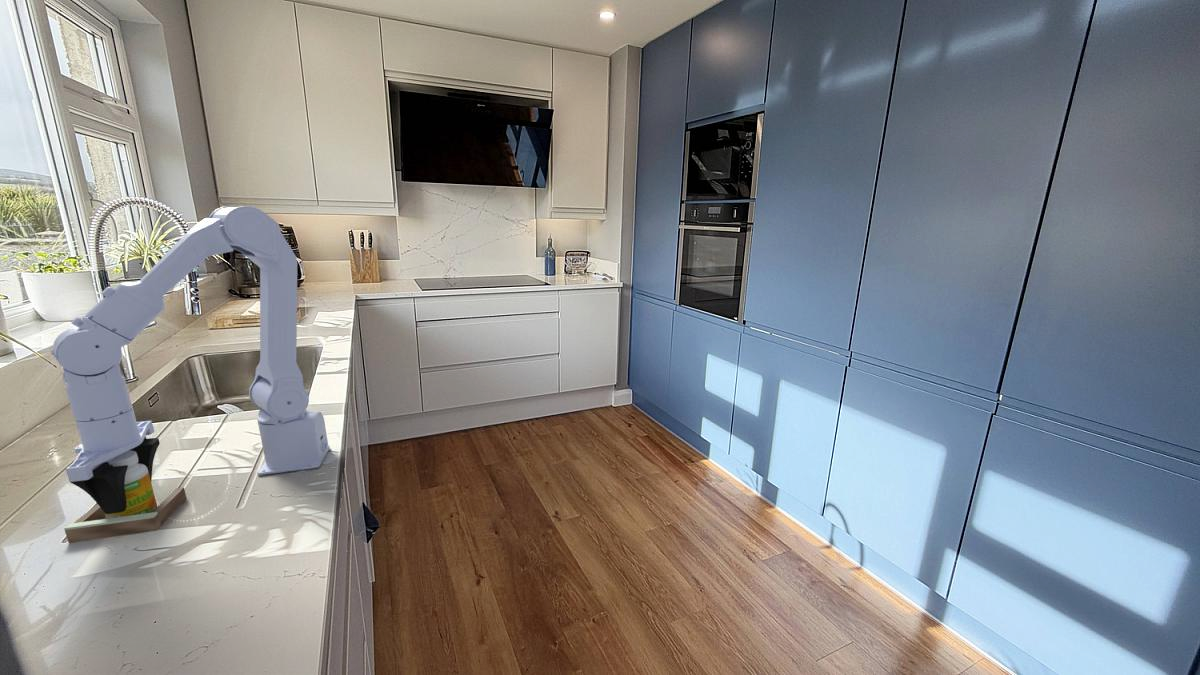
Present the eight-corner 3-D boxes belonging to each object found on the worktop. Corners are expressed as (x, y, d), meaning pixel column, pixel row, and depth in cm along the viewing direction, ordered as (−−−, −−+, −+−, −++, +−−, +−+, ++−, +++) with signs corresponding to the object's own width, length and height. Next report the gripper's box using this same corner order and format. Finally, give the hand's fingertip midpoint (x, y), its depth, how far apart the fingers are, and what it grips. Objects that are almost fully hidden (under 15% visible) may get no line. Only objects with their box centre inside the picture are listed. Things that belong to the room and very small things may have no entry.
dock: (186, 498, 76) (183, 485, 76) (157, 530, 69) (153, 515, 68) (108, 509, 74) (104, 495, 73) (68, 542, 66) (64, 528, 66)
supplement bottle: (127, 530, 68) (110, 467, 66) (97, 526, 69) (79, 464, 67) (167, 508, 74) (152, 449, 71) (139, 504, 75) (123, 446, 72)
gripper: (104, 397, 73) (127, 478, 77) (24, 440, 60) (56, 535, 63) (161, 392, 75) (180, 471, 78) (94, 432, 61) (122, 526, 65)
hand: (129, 499), depth 71 cm, fingers closed on supplement bottle, 5 cm apart
